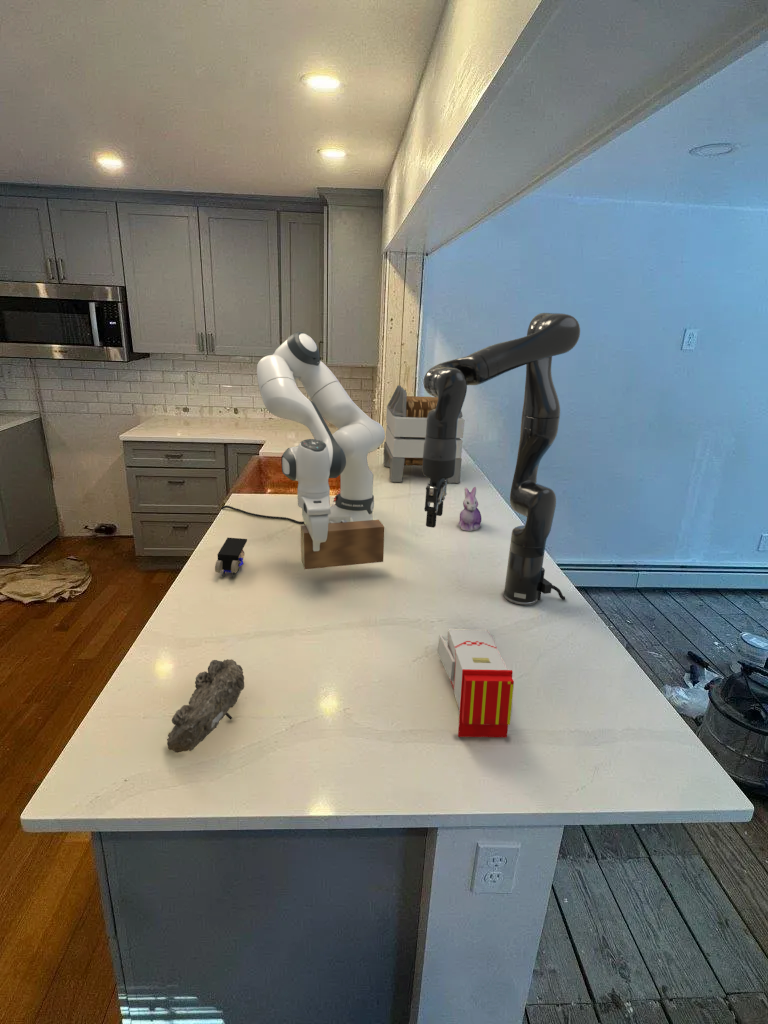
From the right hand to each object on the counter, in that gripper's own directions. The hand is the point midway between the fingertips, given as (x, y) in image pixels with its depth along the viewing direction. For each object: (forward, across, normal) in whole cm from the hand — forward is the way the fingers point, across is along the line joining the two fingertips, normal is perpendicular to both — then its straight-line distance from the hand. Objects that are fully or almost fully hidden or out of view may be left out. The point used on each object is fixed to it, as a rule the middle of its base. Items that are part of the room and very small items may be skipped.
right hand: (434, 520), depth 136 cm
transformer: (+27, +134, +32) cm, 140 cm away
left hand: (+17, +12, +36) cm, 41 cm away
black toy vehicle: (+27, +8, +60) cm, 67 cm away
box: (+23, +16, +29) cm, 40 cm away
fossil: (+27, -50, +31) cm, 65 cm away
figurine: (+27, +70, -1) cm, 75 cm away
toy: (+27, -26, -15) cm, 40 cm away
